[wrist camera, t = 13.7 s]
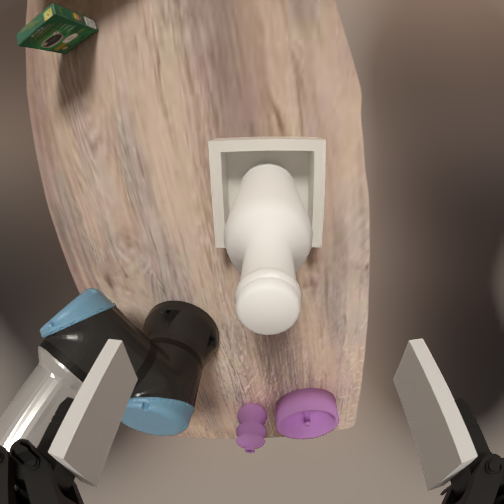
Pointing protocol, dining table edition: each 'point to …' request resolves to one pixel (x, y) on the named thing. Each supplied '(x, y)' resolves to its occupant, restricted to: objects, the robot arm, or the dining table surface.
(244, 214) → the bottle
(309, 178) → the bottle rest
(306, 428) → the container set
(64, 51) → the coffee box
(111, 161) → the dining table surface
